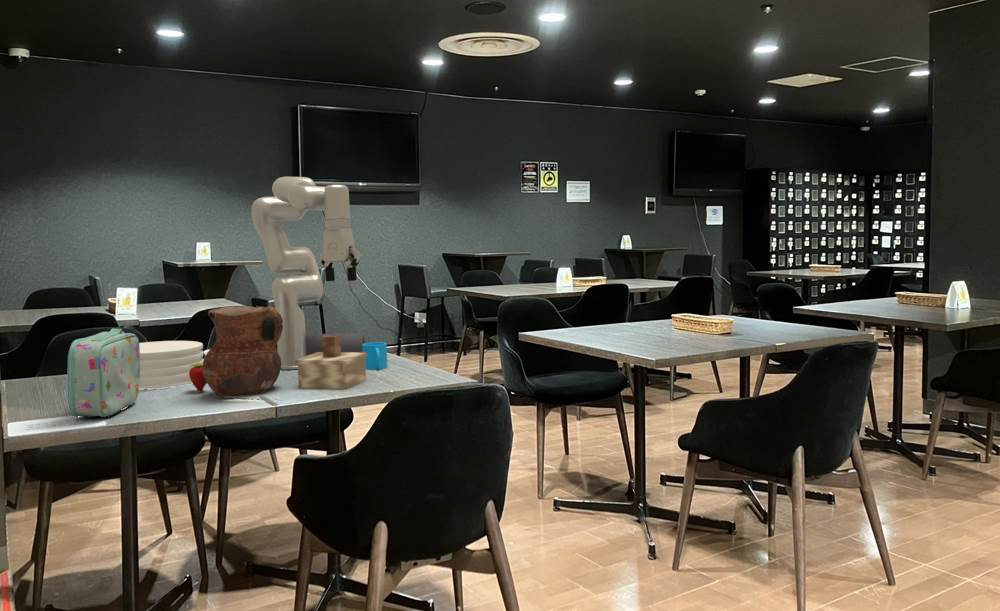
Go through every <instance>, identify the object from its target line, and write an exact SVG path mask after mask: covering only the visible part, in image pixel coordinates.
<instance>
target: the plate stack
mask: <svg viewBox="0 0 1000 611" xmlns="http://www.w3.org/2000/svg"><path fill="white" fill-rule="evenodd" d="M139 347H140V379H139V388H162V387H170V386H178V385H185V384H191V383H192V381H191V379H190V376H189V371H190V369H191V368H193V367H194V366H191V365H194V364H197V363H198V364H203V361H204V359H205V358H203V357H204V350H203V349H204V344H203V343H202V342H199V341H195V340H194V341H193V340H162V341H146V342H139ZM200 359H201V360H200Z"/></svg>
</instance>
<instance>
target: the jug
mask: <svg viewBox="0 0 1000 611" xmlns="http://www.w3.org/2000/svg"><path fill="white" fill-rule="evenodd" d="M207 315H208V317H209V318H210V320H211V321H212V322H213V324H214V327H215V328H214V329H215V332H216V333H215V334H216V341H215V342H214V344H213V345H212V346H211V347H210V348H209V350H208V351H207V352H206V354H205V356H204V358H203V359H204V361H203V366H202V372H203V376H204V378H205V380H206V382H207V384H206V385H207V386H208V387H209V388H210V389H211V391H212V392H213V393H215V394H216V395H217V396H219V397H220V398H222V399H223V398H225V399H228V397H239V396H242V397H243V396H249V395H257V394H263V393H266V392H267V391H268V392H269V391H270V390H271V388H272V387H273V386H274V385H275V383H276V382H277V380H278V378H279V376H280V373H281V371H282V370H281V359H280V356H279V354H278V348H277V347H276V346H277V342H278V341H279V339H280V337H281V334H282V330H283V325H282V323H283V320H282V317H281V315H280V314H279V312H278V311H277V310H276V309H275V306H274V307H273V306H256V307H255V306H250V305H228V306H223V307H219V308H216V309H211V310H208V311H207ZM268 319H272V320H273V334H272V337H267V336H266V335H265V325H266V320H268Z"/></svg>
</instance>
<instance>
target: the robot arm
mask: <svg viewBox="0 0 1000 611" xmlns="http://www.w3.org/2000/svg"><path fill="white" fill-rule="evenodd" d="M271 189H272V190H271V191H272V193H273V194H272V195H273V196H263V197H258V198H257V199H255V200H254V202H253V203H252V206H251V220H252V223H253V226H254V228H255V231H256V232H257V234H258V235H259V237H260V240H261V242H262V245H263V248H264V251H265V256H266V259H267V262H268V266H269V269H270V271H271V272H272V273H274V274H275V275H279V276H278V277H276V278H275V279H274V280H273V281H272V283H271V295H272V298H273V302H274V308H275V309H276V310H277V311H278V312H279V314H280V315H281V317H282V320H283V323H282V325H283V330H282V334H281V337H280V339H279V341H278V342H277V344H276V346H277V347H276V349H277V352H278V354H279V356H280V359H281V370H280V371H282V370H284V371H286V370H288V371H289V370H291V371H292V370H298V364H295V360H297V359H300V358H303V357H305V356H306V335H307V334H306V320H305V319H306V316H305V313H304V311H303V310H302V308H301V307H300V306H299V304H300V303H309V302H317V301H319V300H320V299H322V298H323V296H324V283H323V280H322V276H321V273H320V269H319V267H318V263H317V259H316V256H315V254H314V253H313V251H312V250H311V249H310V248H309V247H307V246H292V245H291V244H290V243H289V239H288V236H287V233H286V232H285V231H284V230H283V229H282V227H280V226H279V225H278V224H277V223H276V222H296V221H299V220H301V219H302V218H303V217H304V216H305V214H306V213H307V212H308V211H309V212H310V211H311V212H312V211H324V218H325V222H324V227H325V230H324V231H323V236H322V237H323V238H322V252H321V253H320V254H319V256H318V257H319V260H320V262H321V264H322V266H323V269H324V271H325V272H324V273H325V281H326V282H335V268H334V265H335V263H342V262H343V263H344V262H345V264H346V266H348V267H347V269H346V274H347V281H348V282H352V281H357V268H358V264H359V263H360V259H361V256H362V253H361V252H360V251H359V250H357V249H356V248H355V239H354V234H353V230H352V228H351V211H350V209H351V208H350V192H349V188H348V186H347V185H344V184H328V185H326V186H320V185H319V186H317V184H316V183H315V182H314V180H313V179H311V178H310V177H306V176H282V177H278V178H277V179H276V180H275V181H273V184H272V187H271ZM280 275H281V276H280Z"/></svg>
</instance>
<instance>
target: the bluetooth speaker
mask: <svg viewBox="0 0 1000 611" xmlns="http://www.w3.org/2000/svg"><path fill="white" fill-rule="evenodd" d="M305 335H306V356H308V355H311V354H314V353H317V352H323V344H322V337H324V336H327V335H340V341H341V352H361V353H363V346H362V344H365V343H366V341H365V334H364V333H316V334H305Z"/></svg>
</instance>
